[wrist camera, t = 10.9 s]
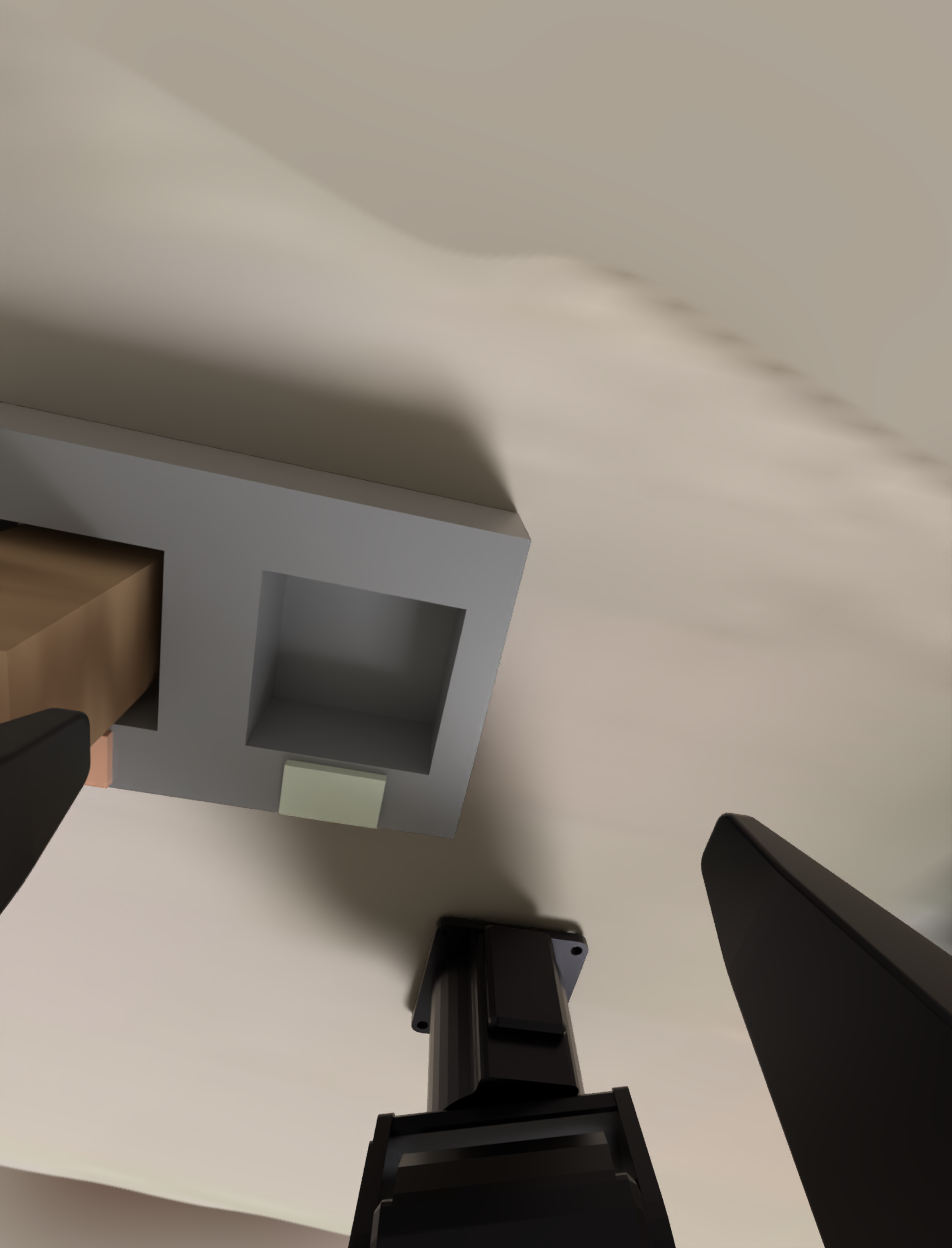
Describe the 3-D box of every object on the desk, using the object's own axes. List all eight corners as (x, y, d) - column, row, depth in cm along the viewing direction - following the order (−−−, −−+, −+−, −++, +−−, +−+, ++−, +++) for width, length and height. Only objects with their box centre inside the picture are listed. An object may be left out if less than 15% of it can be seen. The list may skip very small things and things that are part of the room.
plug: (176, 660, 20) (15, 822, 13) (48, 637, 20) (-196, 791, 12) (182, 544, 19) (6, 651, 11) (45, 516, 18) (-232, 609, 11)
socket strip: (453, 774, 23) (453, 845, 19) (-3, 699, 21) (-94, 764, 18) (518, 513, 19) (532, 542, 16) (-23, 397, 18) (-143, 400, 14)
